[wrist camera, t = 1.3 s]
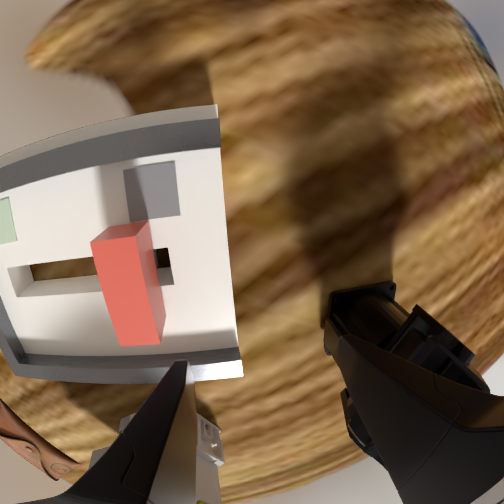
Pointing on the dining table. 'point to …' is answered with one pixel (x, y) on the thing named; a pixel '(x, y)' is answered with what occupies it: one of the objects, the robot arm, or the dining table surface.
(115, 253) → the lever
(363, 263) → the dining table surface
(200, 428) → the circuit breaker
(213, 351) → the grey frame
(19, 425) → the sunglasses case
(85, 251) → the switch panel
